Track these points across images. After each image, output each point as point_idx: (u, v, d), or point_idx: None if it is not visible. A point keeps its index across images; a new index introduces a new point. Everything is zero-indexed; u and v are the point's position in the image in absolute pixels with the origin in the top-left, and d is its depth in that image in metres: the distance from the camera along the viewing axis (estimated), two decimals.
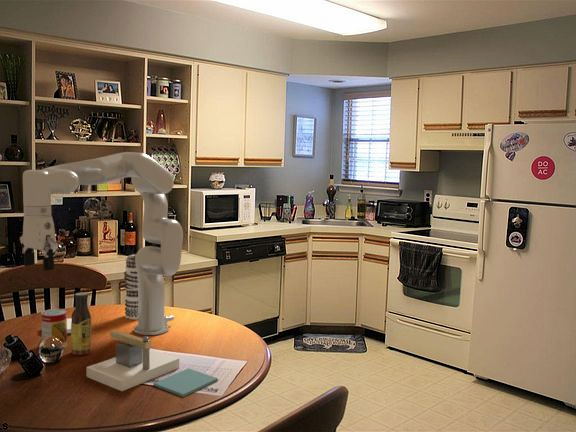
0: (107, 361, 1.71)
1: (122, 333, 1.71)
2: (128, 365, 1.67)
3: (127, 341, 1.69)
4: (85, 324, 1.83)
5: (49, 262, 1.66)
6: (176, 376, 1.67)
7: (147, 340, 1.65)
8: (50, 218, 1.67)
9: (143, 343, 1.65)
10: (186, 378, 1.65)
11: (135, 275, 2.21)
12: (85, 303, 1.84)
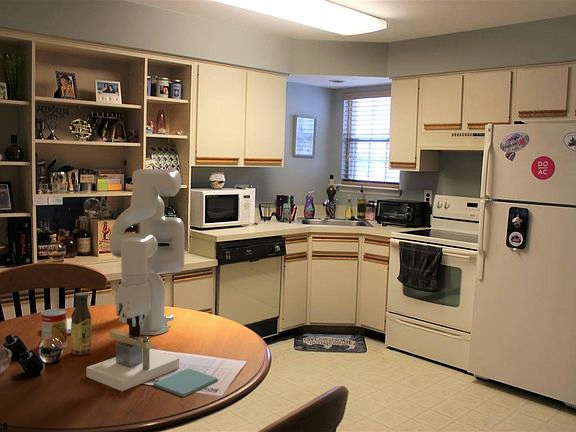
0: (107, 361, 1.71)
1: (122, 333, 1.71)
2: (128, 365, 1.67)
3: (127, 341, 1.69)
4: (85, 324, 1.83)
5: None
6: (176, 376, 1.67)
7: (147, 340, 1.65)
8: None
9: (143, 343, 1.65)
10: (186, 378, 1.65)
11: None
12: (85, 303, 1.84)
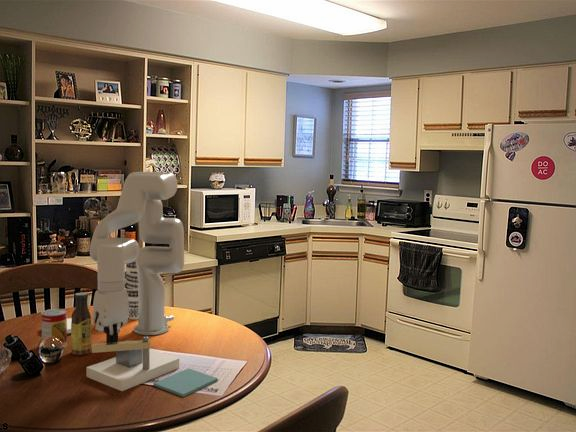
0: (107, 361, 1.71)
1: (107, 343, 1.62)
2: (128, 365, 1.67)
3: (121, 348, 1.63)
4: (85, 324, 1.83)
5: None
6: (176, 376, 1.67)
7: None
8: None
9: (145, 343, 1.64)
10: (186, 378, 1.65)
11: (135, 275, 2.21)
12: (85, 303, 1.84)
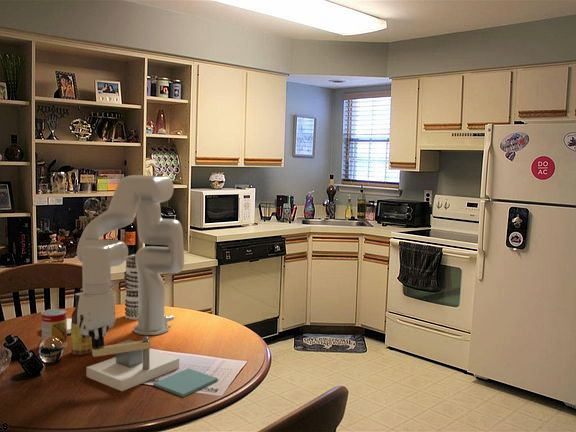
0: (107, 361, 1.71)
1: (108, 346, 1.60)
2: (128, 365, 1.67)
3: (123, 350, 1.61)
4: None
5: None
6: (176, 376, 1.67)
7: None
8: None
9: (146, 343, 1.65)
10: (186, 378, 1.65)
11: (135, 275, 2.21)
12: None
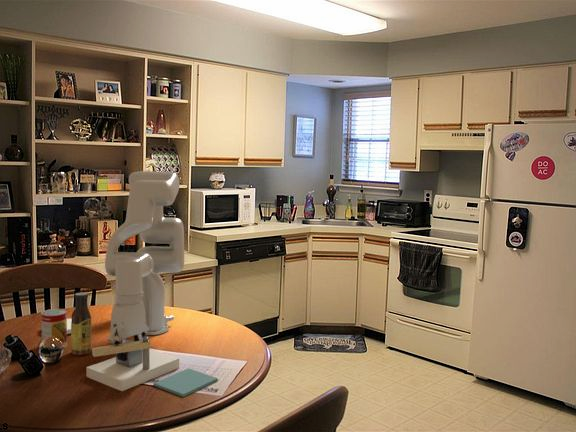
0: (107, 361, 1.71)
1: (108, 346, 1.60)
2: (128, 365, 1.67)
3: (123, 350, 1.61)
4: (85, 324, 1.83)
5: None
6: (176, 376, 1.67)
7: None
8: None
9: (146, 343, 1.65)
10: (186, 378, 1.65)
11: None
12: (85, 303, 1.84)
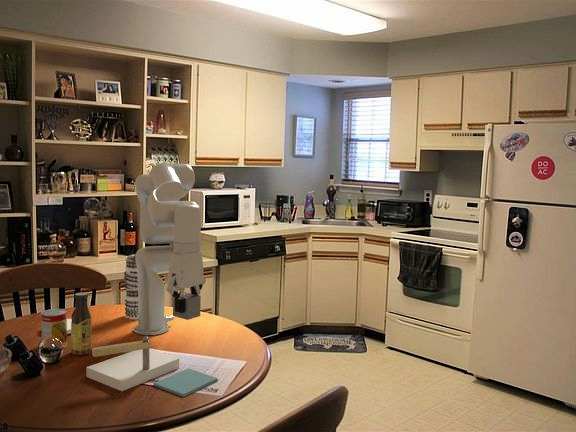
0: (107, 361, 1.71)
1: (108, 346, 1.60)
2: (187, 317, 1.58)
3: (123, 350, 1.61)
4: (85, 324, 1.83)
5: None
6: (176, 376, 1.67)
7: None
8: None
9: (146, 343, 1.65)
10: (186, 378, 1.65)
11: (135, 275, 2.21)
12: (85, 303, 1.84)
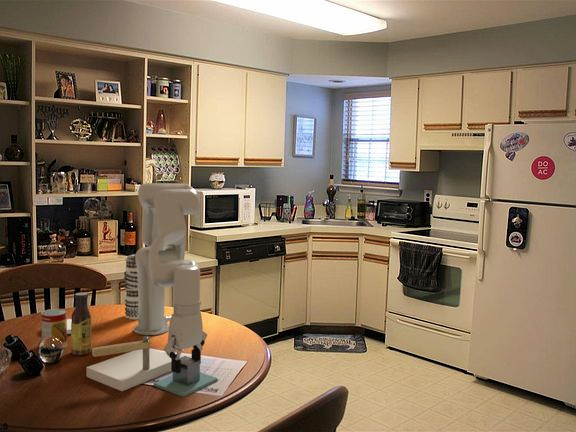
0: (107, 361, 1.71)
1: (108, 346, 1.60)
2: (186, 383, 1.61)
3: (123, 350, 1.61)
4: (85, 324, 1.83)
5: None
6: None
7: None
8: None
9: (146, 343, 1.65)
10: None
11: (135, 275, 2.21)
12: (85, 303, 1.84)
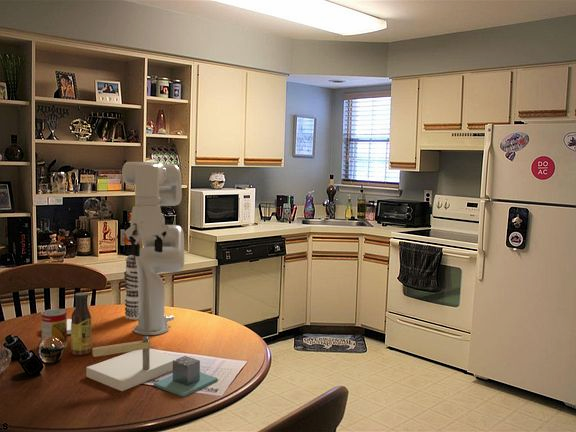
0: (107, 361, 1.71)
1: (108, 346, 1.60)
2: (186, 383, 1.61)
3: (123, 350, 1.61)
4: (85, 324, 1.83)
5: None
6: None
7: None
8: None
9: (146, 343, 1.65)
10: None
11: (135, 275, 2.21)
12: (85, 303, 1.84)
